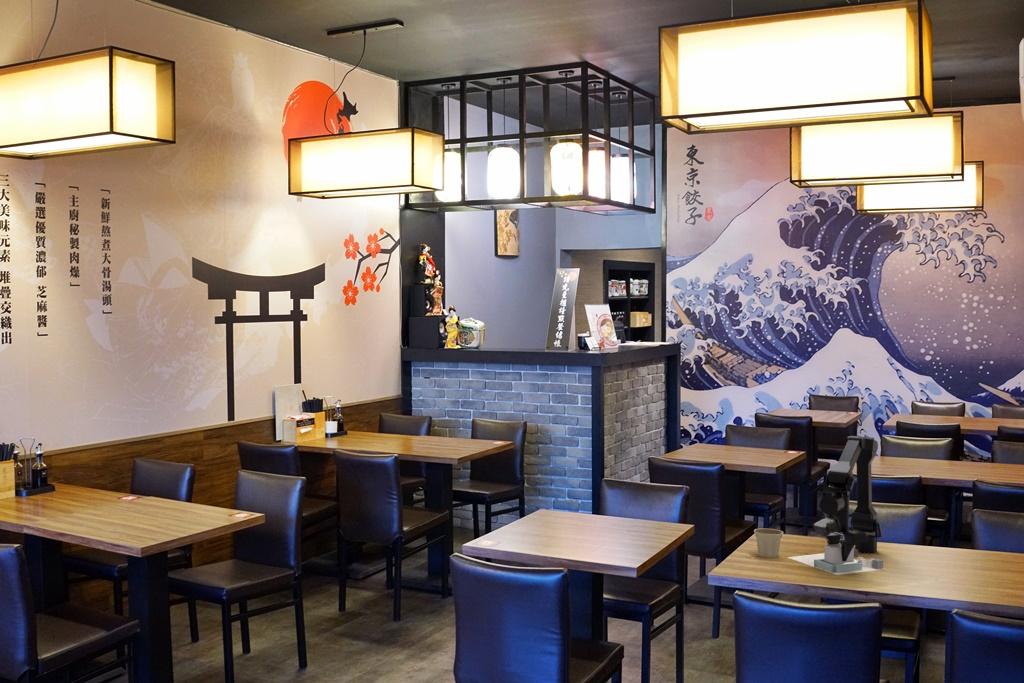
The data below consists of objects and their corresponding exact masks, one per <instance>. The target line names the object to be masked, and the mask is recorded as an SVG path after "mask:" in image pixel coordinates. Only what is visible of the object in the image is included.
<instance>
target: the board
mask: <svg viewBox="0 0 1024 683" xmlns="http://www.w3.org/2000/svg"><path fill="white" fill-rule="evenodd" d="M786 558H788V559H790V560H793V561H796V562H799V563H802V564H804V565H807V566H811V567H813V568H816V569H818V570H821V571H825V572H827V573H830V574H834V575H835V576H836V575H837V576H841V575H847V574H848V575H850V574H857V573H864V572H866V573H867V572H874V571H883V570H885V568H884V567H883V569H875V568H873V567H872V568H870V567H862V570H856V571H847V572H839V573H832V572H829V571H826V570H824V569H821V568H818V567H815V566H814V560H817V559H824V552H822V553H815V554H808V555H807V554H805V555H797V556H788V557H787V556H786ZM857 562H858V559H855V558H854V562H848V563H844V564H852V563H857ZM837 565H843V564H837ZM834 566H835V565H834Z"/></svg>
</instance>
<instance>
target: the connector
mask: <svg viewBox="0 0 1024 683" xmlns="http://www.w3.org/2000/svg"><path fill="white" fill-rule="evenodd" d="M823 553H824V561H825V562H828V563H831V564H839V563H848V562H854V559H855V558H859V553H858V550H857V549H855V546H854V547H853V549H852V550H851V552H850V554H849V556H848V558H847V560H846V561H842V548H841V544H840V543H839V544H832V545H828V544H825V545H824V552H823Z"/></svg>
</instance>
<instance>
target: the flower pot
mask: <svg viewBox="0 0 1024 683" xmlns="http://www.w3.org/2000/svg"><path fill="white" fill-rule="evenodd" d="M753 532H754V535H755V538H756V547H757V554H758V556H759V557H763V558H778V557H779V553H780V552H779V551H780V545H781V539H782V538H783V534H784V531H782V530H779V529H775V528H755V529H754V530H753Z"/></svg>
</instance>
